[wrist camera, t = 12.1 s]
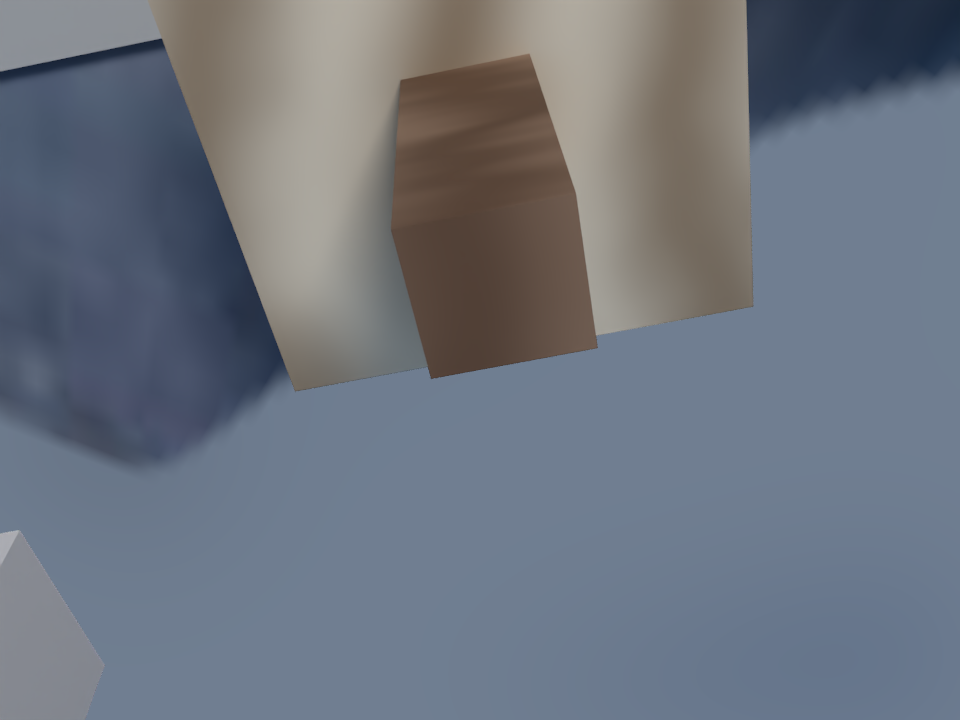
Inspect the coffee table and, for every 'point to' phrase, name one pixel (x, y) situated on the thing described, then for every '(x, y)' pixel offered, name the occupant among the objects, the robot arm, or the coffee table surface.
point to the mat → (70, 28)
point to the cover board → (345, 149)
